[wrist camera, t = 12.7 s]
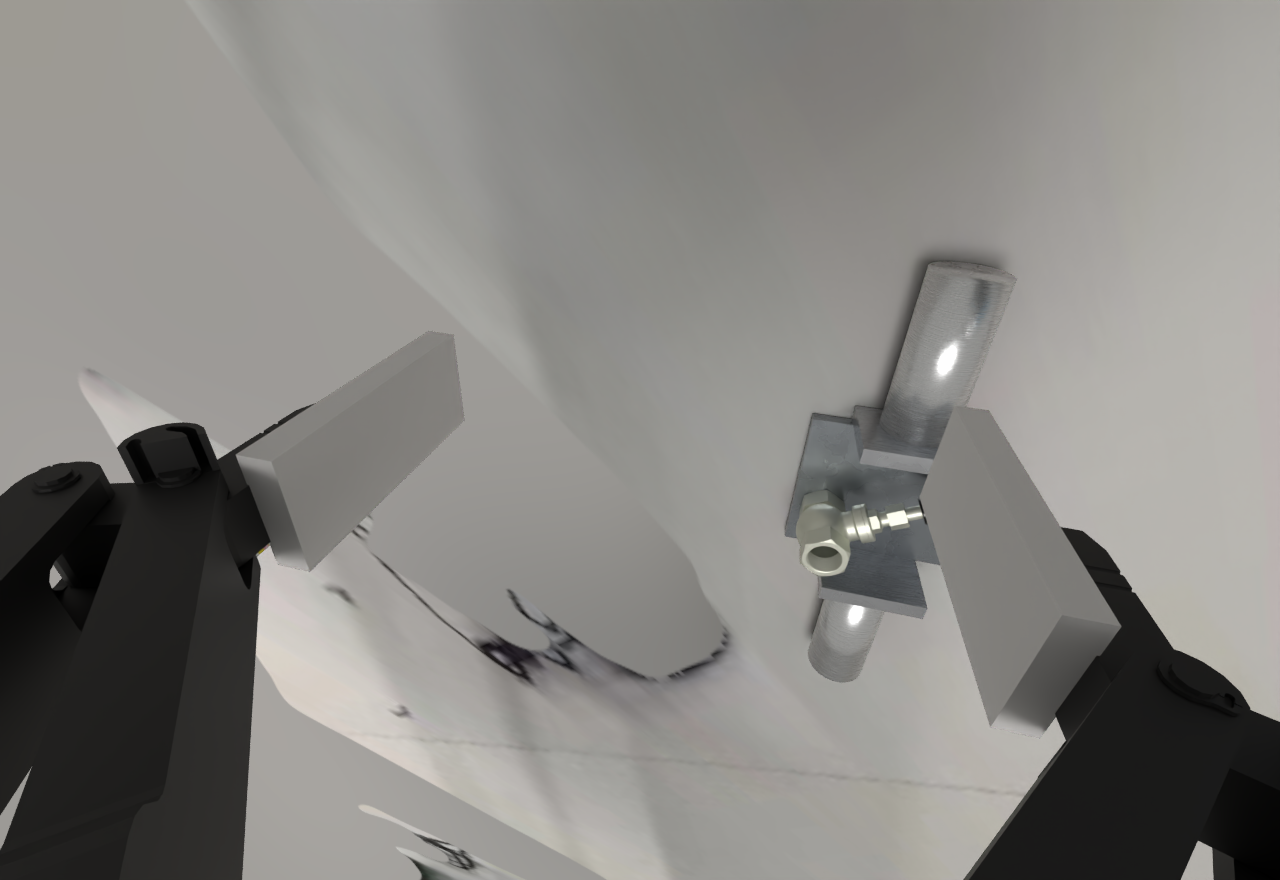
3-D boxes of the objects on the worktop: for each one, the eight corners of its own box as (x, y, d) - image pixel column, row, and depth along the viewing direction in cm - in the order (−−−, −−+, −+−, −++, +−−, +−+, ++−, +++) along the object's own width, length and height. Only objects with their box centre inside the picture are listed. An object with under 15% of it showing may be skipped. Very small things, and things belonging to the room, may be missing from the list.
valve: (809, 541, 51) (958, 511, 46) (810, 595, 45) (980, 568, 40) (784, 481, 48) (939, 444, 43) (783, 531, 43) (960, 494, 38)
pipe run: (851, 250, 39) (860, 276, 33) (1078, 274, 36) (1128, 305, 31) (762, 623, 58) (758, 677, 53) (906, 654, 56) (918, 714, 51)
